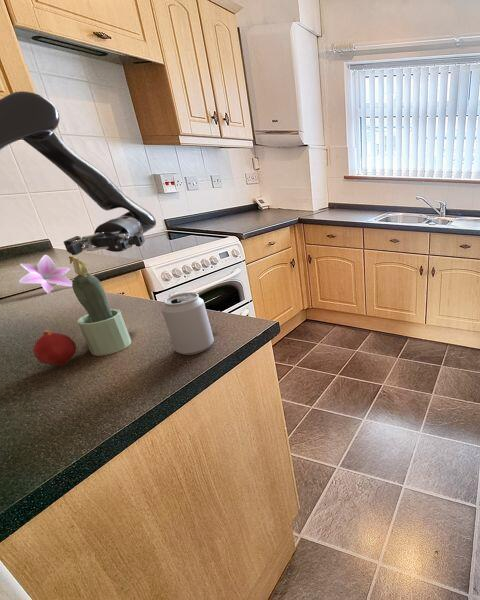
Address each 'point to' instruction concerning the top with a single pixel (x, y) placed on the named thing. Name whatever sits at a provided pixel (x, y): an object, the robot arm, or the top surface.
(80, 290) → the vegetable
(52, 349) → the onion
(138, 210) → the robot arm
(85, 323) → the tube
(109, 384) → the top surface
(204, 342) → the can
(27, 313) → the top surface
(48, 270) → the lily
